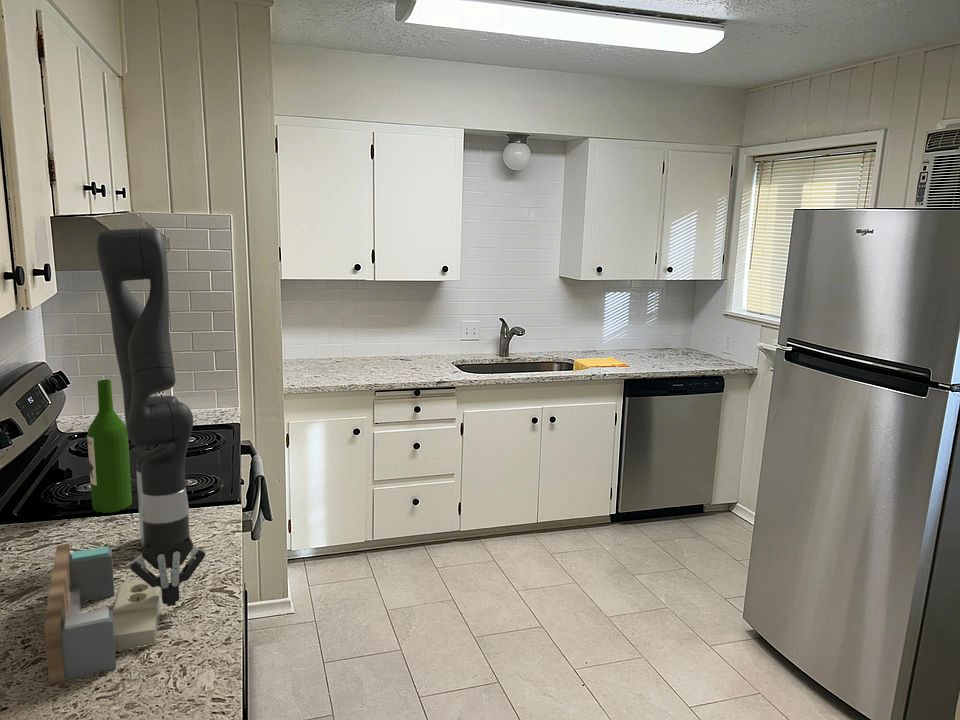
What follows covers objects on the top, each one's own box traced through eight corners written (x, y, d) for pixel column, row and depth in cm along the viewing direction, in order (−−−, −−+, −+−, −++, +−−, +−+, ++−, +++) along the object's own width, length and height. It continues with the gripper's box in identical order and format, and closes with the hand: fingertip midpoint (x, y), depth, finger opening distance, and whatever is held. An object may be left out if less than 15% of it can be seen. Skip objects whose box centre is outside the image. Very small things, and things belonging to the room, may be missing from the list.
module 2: (66, 666, 112) (61, 615, 111) (115, 655, 115) (112, 606, 114) (64, 680, 108) (60, 628, 107) (115, 668, 112) (112, 617, 110)
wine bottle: (87, 506, 179) (78, 380, 174) (125, 497, 185) (117, 376, 180) (99, 516, 173) (89, 385, 167) (137, 507, 179) (129, 381, 174)
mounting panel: (61, 595, 134) (56, 545, 133) (73, 592, 135) (69, 543, 134) (49, 685, 107) (44, 624, 106) (64, 681, 108) (59, 621, 106)
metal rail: (72, 603, 131) (70, 585, 131) (81, 601, 132) (80, 584, 131) (66, 666, 112) (64, 645, 111) (76, 663, 113) (75, 643, 112)
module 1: (73, 594, 135) (69, 551, 133) (114, 586, 138) (111, 544, 137) (72, 603, 131) (68, 560, 130) (114, 595, 134) (111, 553, 133)
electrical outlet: (106, 631, 115) (119, 582, 132) (107, 654, 116) (120, 602, 133) (154, 624, 118) (161, 576, 134) (155, 646, 118) (162, 596, 135)
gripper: (202, 501, 132) (206, 587, 135) (123, 512, 126) (129, 603, 129) (207, 514, 126) (212, 605, 128) (125, 527, 119) (131, 622, 122)
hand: (170, 604), depth 129 cm, fingers closed
